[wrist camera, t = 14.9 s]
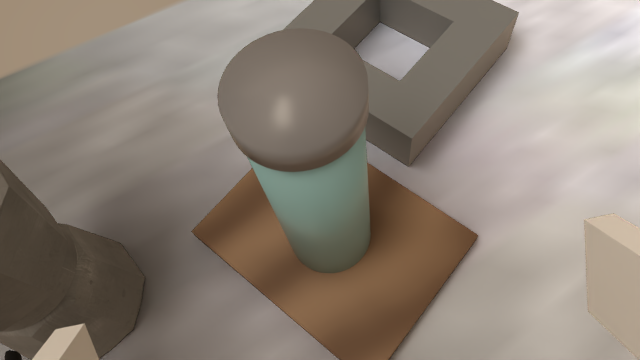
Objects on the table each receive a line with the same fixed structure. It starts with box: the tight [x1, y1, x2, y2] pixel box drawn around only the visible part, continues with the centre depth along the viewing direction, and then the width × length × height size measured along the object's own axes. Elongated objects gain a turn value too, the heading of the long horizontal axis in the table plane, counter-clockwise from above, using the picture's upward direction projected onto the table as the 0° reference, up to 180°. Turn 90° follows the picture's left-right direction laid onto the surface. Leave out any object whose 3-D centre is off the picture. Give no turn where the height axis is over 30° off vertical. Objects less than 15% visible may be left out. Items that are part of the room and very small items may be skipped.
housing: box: [283, 0, 519, 167], centre depth 40 cm, size 14×14×4 cm
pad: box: [191, 163, 478, 360], centre depth 35 cm, size 16×12×1 cm
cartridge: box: [218, 28, 371, 273], centre depth 27 cm, size 6×6×17 cm
